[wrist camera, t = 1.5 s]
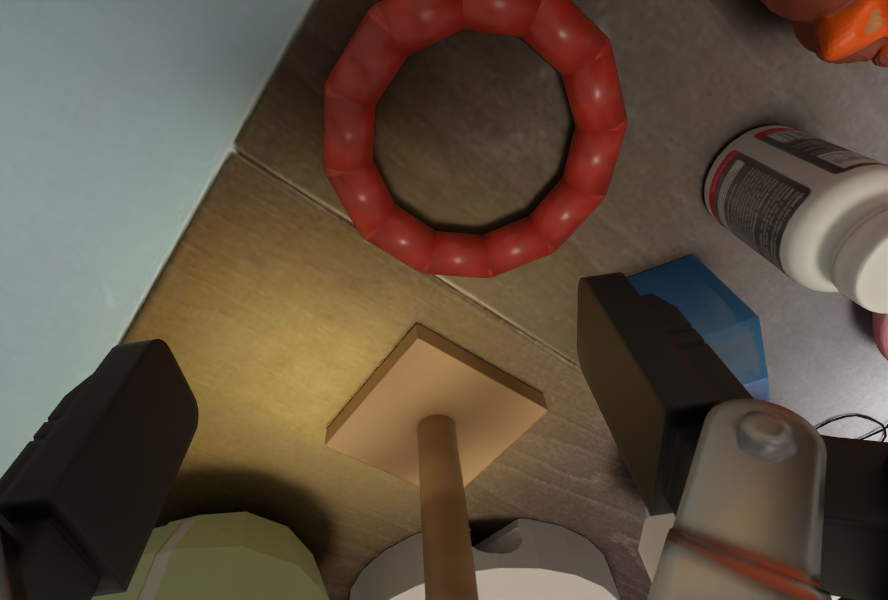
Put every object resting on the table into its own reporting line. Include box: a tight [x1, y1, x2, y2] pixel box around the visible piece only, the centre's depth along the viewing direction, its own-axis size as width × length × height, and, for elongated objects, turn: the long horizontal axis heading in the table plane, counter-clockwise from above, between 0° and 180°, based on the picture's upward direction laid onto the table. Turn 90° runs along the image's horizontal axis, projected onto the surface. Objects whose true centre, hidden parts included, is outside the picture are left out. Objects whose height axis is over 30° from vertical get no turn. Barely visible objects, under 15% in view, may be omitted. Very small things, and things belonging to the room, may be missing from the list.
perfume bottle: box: [627, 255, 769, 402], centre depth 26 cm, size 6×6×12 cm
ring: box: [323, 0, 627, 278], centre depth 24 cm, size 13×13×2 cm
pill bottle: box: [704, 125, 888, 314], centre depth 23 cm, size 5×5×10 cm
